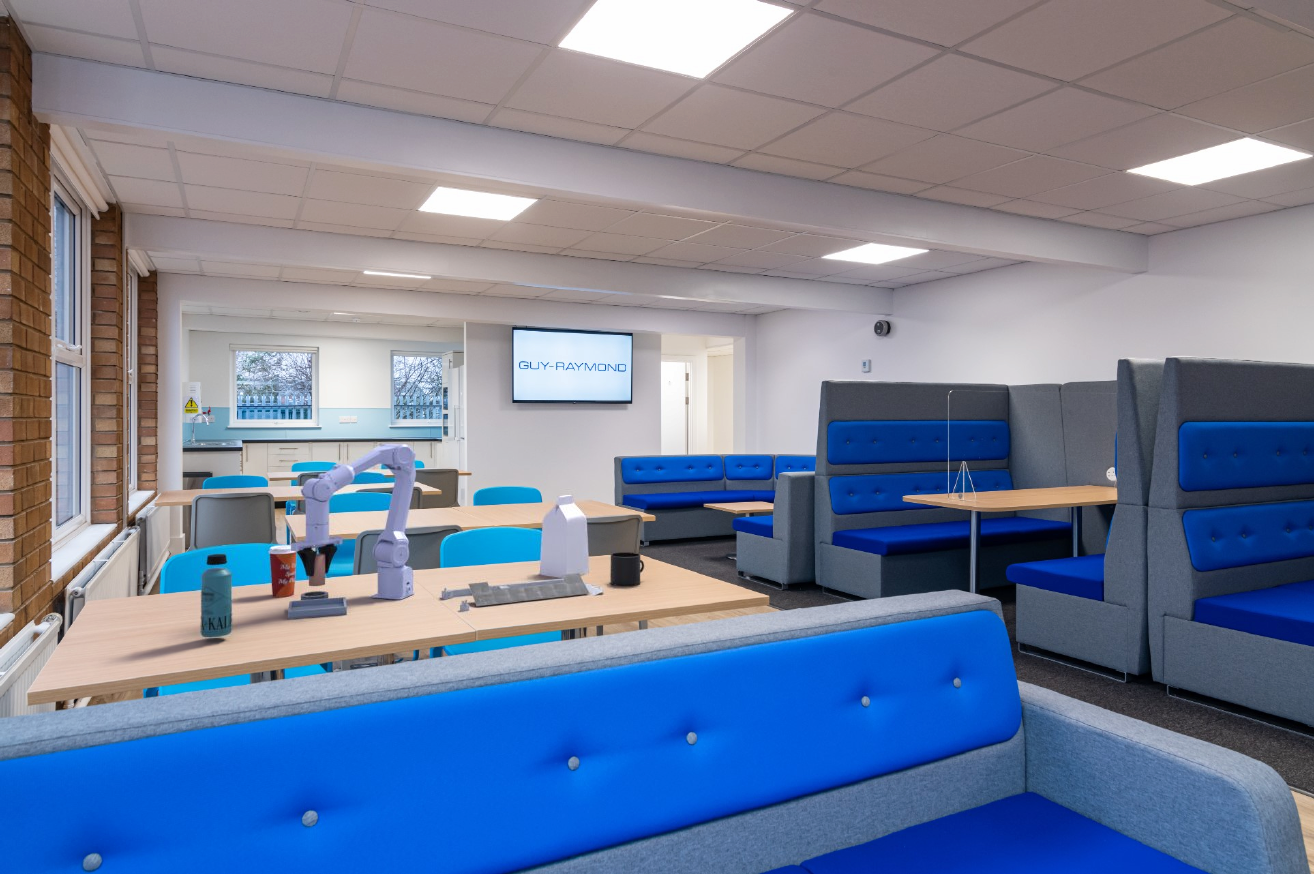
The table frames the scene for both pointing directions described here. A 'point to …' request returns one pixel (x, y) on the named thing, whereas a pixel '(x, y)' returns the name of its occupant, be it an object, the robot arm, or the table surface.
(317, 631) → the table surface
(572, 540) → the milk
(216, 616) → the beverage bottle
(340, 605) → the tray
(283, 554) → the paper cup
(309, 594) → the sleeve
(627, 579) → the mug
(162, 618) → the table surface
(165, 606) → the table surface
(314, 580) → the peg
